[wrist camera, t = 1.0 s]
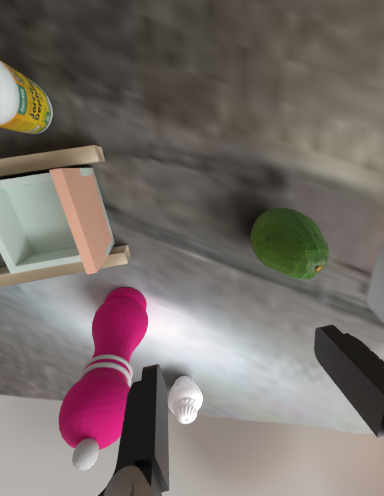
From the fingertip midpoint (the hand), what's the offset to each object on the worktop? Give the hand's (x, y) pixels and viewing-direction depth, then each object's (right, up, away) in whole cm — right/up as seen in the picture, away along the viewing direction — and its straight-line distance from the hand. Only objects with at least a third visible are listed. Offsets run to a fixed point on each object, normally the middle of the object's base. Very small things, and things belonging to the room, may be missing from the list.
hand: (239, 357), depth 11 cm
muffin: (-4, -20, +31) cm, 37 cm away
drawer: (-19, +10, +18) cm, 28 cm away
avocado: (+9, +8, +22) cm, 25 cm away
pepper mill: (-13, -3, +23) cm, 27 cm away
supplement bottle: (-20, +21, +13) cm, 32 cm away
